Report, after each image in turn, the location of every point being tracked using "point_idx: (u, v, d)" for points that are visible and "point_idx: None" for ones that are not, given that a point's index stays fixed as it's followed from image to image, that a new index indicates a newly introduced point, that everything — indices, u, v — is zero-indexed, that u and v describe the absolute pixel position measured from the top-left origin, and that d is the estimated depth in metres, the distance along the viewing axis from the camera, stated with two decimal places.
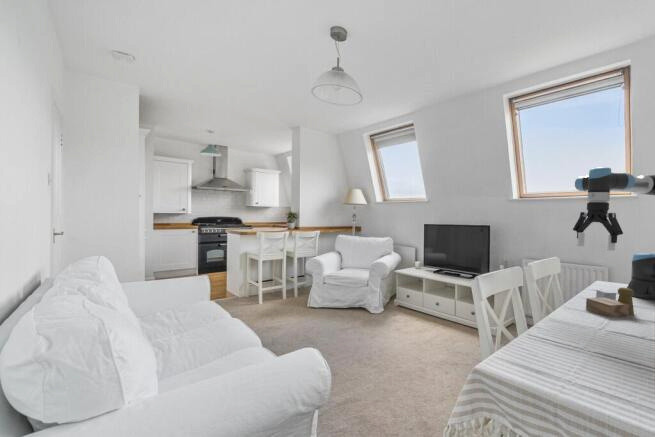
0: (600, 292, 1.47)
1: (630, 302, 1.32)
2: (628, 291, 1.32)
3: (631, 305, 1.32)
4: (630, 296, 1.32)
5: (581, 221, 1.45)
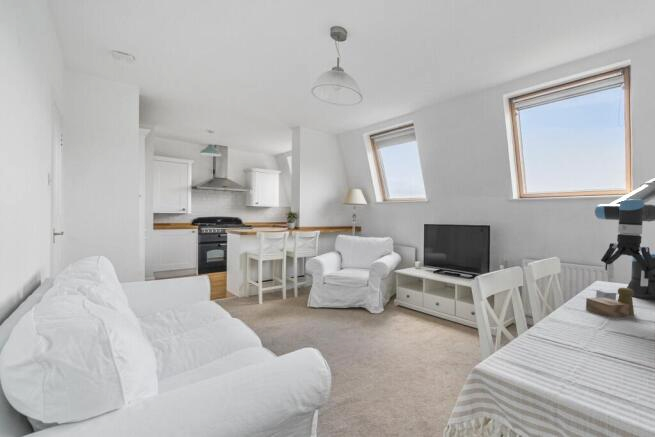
0: (600, 292, 1.47)
1: (630, 302, 1.32)
2: (628, 291, 1.32)
3: (631, 305, 1.32)
4: (630, 296, 1.32)
5: (610, 252, 1.40)
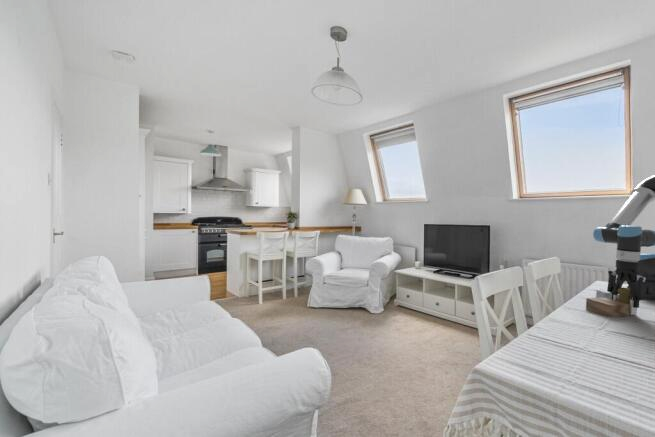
0: (600, 292, 1.47)
1: None
2: (628, 291, 1.32)
3: None
4: (630, 296, 1.32)
5: (612, 280, 1.39)
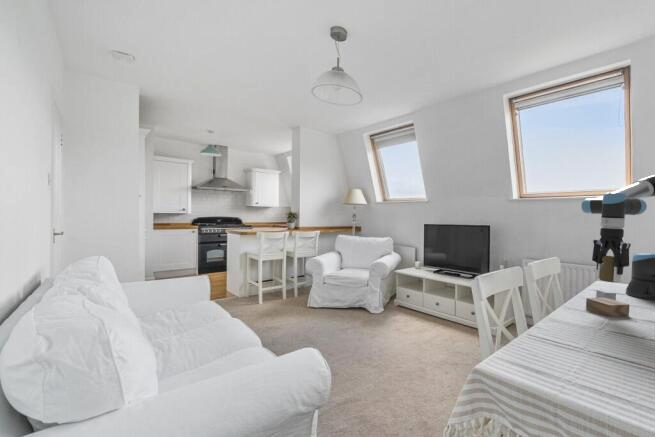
0: (600, 292, 1.47)
1: None
2: (612, 258, 1.31)
3: None
4: (614, 263, 1.31)
5: (597, 249, 1.38)
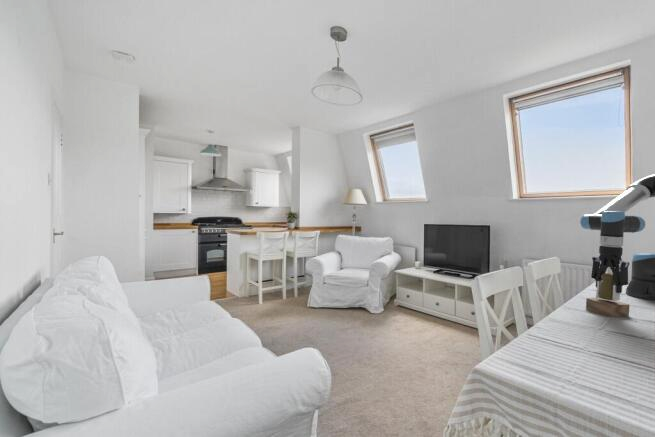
0: None
1: None
2: (611, 277, 1.31)
3: None
4: (613, 282, 1.31)
5: (596, 267, 1.38)
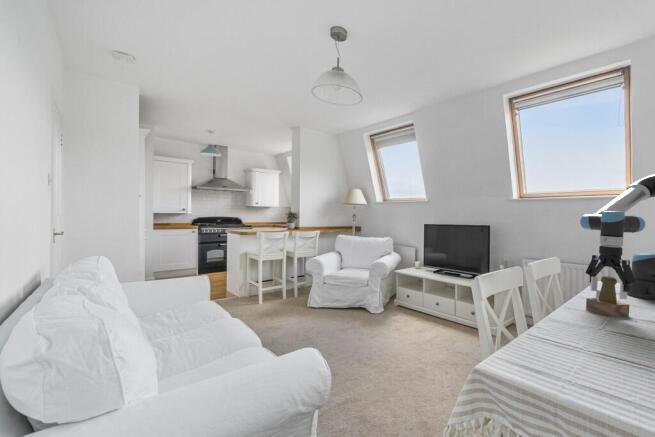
0: None
1: (613, 290, 1.32)
2: (611, 279, 1.31)
3: (613, 294, 1.31)
4: (613, 284, 1.32)
5: (593, 264, 1.40)
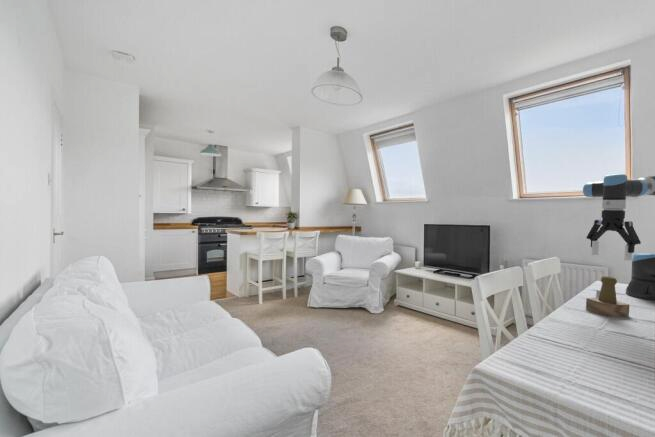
0: None
1: (613, 290, 1.32)
2: (611, 279, 1.31)
3: (613, 294, 1.31)
4: (613, 284, 1.32)
5: (595, 229, 1.40)
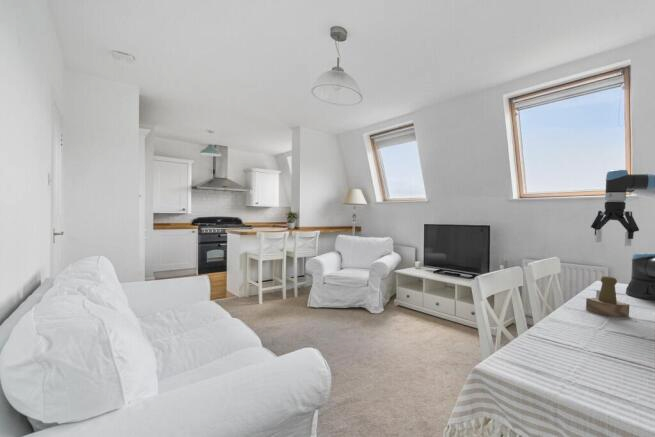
0: None
1: (613, 290, 1.32)
2: (611, 279, 1.31)
3: (613, 294, 1.31)
4: (613, 284, 1.32)
5: (599, 219, 1.57)
